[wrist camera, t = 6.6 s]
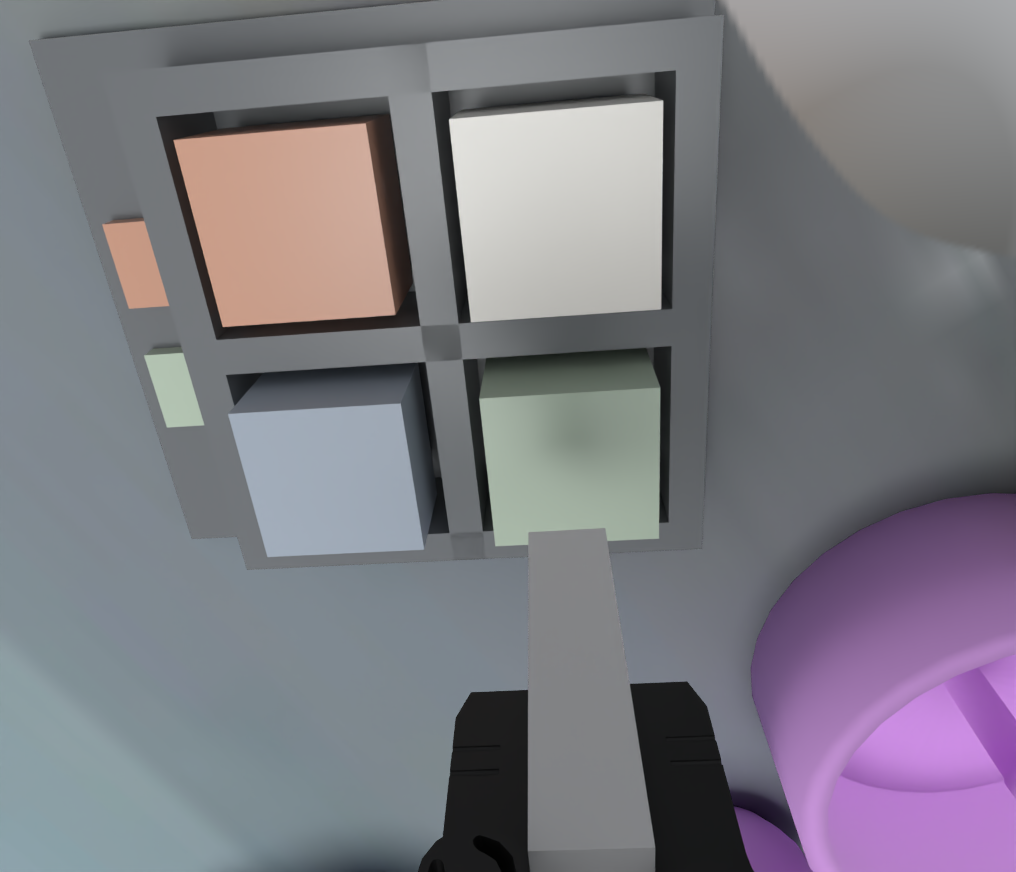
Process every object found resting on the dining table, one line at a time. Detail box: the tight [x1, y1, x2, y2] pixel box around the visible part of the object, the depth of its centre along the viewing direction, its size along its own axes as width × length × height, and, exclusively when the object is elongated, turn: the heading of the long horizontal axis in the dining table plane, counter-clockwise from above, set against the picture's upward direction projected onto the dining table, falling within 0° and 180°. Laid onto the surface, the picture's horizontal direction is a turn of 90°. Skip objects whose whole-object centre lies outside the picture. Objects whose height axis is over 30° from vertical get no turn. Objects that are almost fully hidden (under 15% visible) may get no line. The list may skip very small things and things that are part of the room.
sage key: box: [479, 348, 660, 546], centre depth 21 cm, size 4×4×3 cm
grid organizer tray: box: [29, 0, 724, 570], centre depth 22 cm, size 18×16×4 cm
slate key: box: [228, 363, 437, 557], centre depth 22 cm, size 4×4×3 cm
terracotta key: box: [173, 114, 413, 327], centre depth 19 cm, size 4×4×3 cm
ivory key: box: [449, 94, 663, 322], centre depth 18 cm, size 4×4×3 cm
